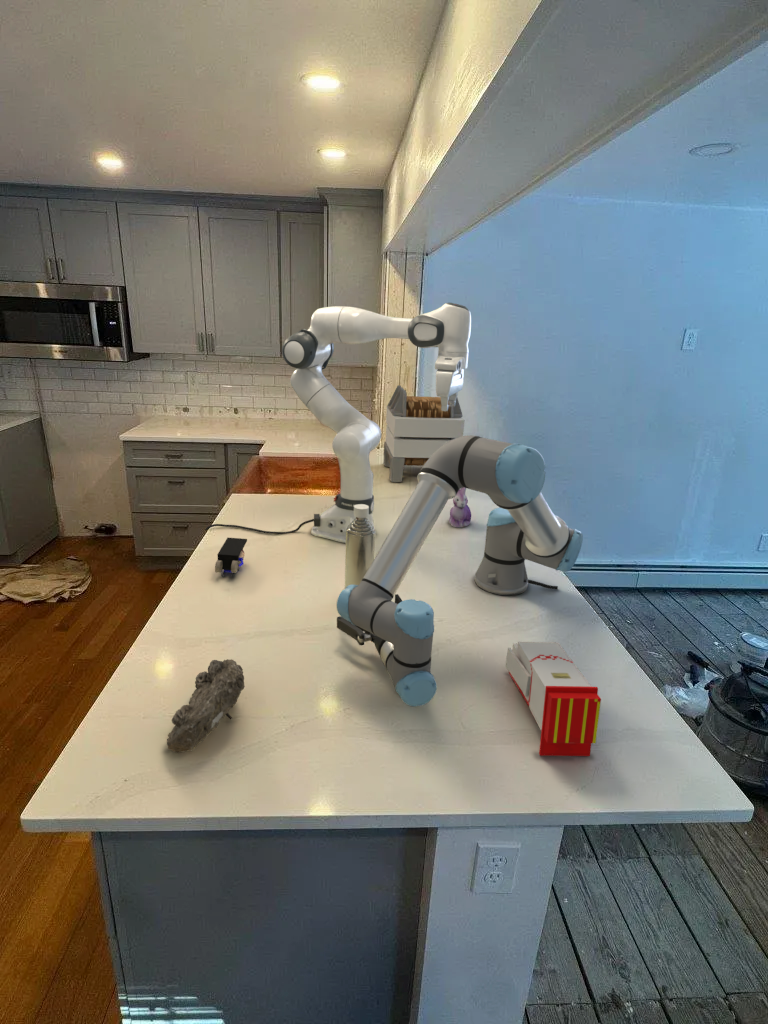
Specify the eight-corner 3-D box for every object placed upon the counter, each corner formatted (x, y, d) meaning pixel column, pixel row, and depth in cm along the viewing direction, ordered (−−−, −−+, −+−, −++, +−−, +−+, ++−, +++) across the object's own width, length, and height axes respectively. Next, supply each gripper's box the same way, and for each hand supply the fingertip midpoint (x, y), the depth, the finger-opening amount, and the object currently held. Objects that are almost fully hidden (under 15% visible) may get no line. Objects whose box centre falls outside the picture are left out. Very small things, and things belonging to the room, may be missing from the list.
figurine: (457, 529, 205) (460, 490, 200) (441, 520, 214) (444, 482, 209) (478, 526, 210) (482, 487, 205) (462, 517, 218) (465, 480, 213)
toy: (554, 624, 127) (610, 694, 97) (548, 679, 130) (602, 763, 100) (500, 623, 126) (541, 693, 97) (496, 678, 129) (534, 763, 100)
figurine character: (238, 584, 162) (249, 557, 175) (236, 562, 158) (247, 536, 172) (215, 584, 161) (227, 556, 175) (212, 561, 158) (225, 535, 171)
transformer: (382, 463, 289) (386, 382, 275) (445, 464, 293) (451, 384, 279) (390, 482, 257) (394, 392, 243) (460, 483, 261) (468, 394, 247)
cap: (355, 518, 145) (355, 509, 144) (352, 513, 148) (352, 504, 147) (369, 517, 146) (370, 508, 145) (366, 512, 149) (367, 503, 148)
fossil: (192, 660, 117) (244, 628, 112) (224, 691, 120) (276, 661, 115) (142, 746, 98) (202, 712, 93) (182, 779, 101) (242, 748, 96)
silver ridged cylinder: (347, 605, 151) (349, 513, 142) (342, 591, 158) (344, 503, 149) (375, 602, 153) (379, 512, 144) (369, 589, 160) (372, 502, 151)
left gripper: (450, 358, 178) (446, 402, 182) (433, 363, 159) (429, 412, 164) (470, 360, 176) (465, 404, 180) (455, 365, 158) (450, 414, 162)
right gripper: (338, 671, 120) (320, 620, 139) (448, 656, 127) (416, 609, 146) (339, 641, 117) (320, 593, 136) (451, 627, 124) (418, 583, 143)
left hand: (448, 408), depth 172 cm, fingers open, 8 cm apart
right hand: (370, 601), depth 141 cm, fingers open, 13 cm apart
